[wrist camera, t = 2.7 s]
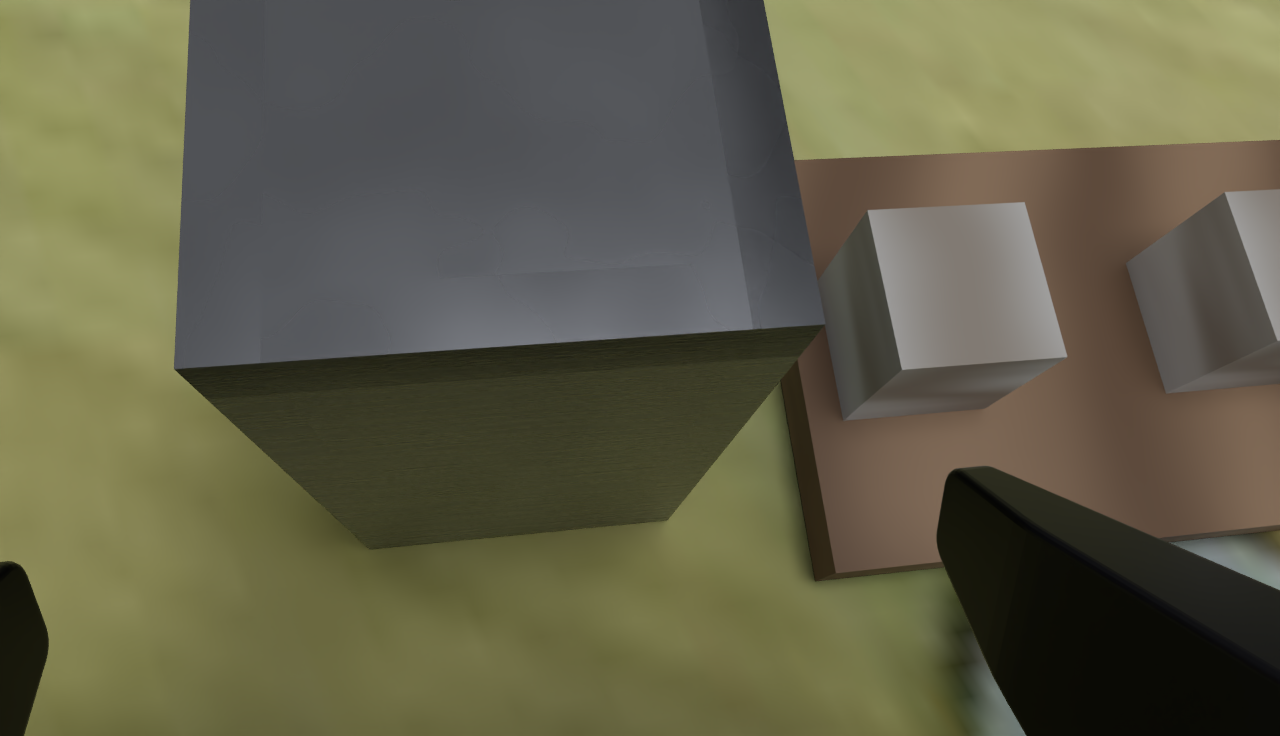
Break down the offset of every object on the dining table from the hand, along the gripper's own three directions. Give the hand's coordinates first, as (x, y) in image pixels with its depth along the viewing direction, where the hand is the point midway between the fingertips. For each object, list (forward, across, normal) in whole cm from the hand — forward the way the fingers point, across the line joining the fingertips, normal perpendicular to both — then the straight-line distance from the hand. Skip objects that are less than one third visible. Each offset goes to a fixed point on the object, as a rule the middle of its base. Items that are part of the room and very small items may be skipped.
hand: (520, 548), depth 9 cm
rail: (+12, -15, +4) cm, 20 cm away
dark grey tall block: (+12, 0, +4) cm, 13 cm away
